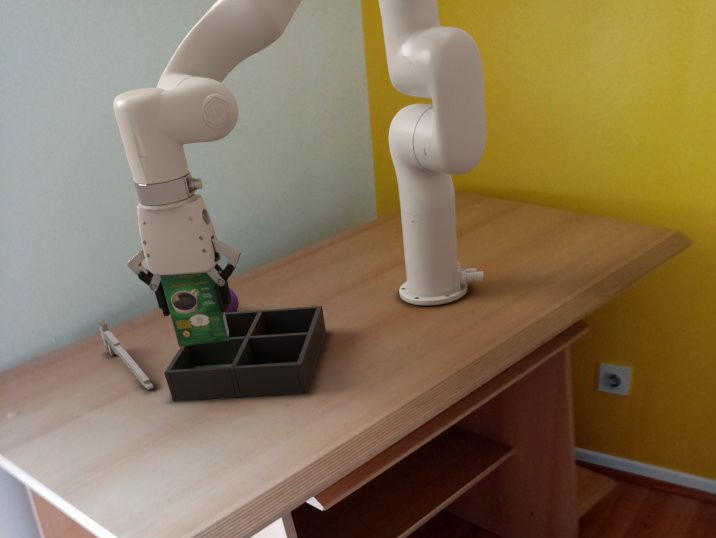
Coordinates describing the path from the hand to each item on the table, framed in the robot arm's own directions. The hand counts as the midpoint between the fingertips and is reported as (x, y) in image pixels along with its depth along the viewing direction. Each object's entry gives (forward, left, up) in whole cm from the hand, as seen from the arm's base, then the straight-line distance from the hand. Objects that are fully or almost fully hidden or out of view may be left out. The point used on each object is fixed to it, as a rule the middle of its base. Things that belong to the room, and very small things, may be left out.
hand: (197, 310), depth 115 cm
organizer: (-5, -5, -12) cm, 14 cm away
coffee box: (0, 0, -5) cm, 5 cm away
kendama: (+10, -30, -12) cm, 34 cm away
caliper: (+17, -6, -12) cm, 22 cm away
